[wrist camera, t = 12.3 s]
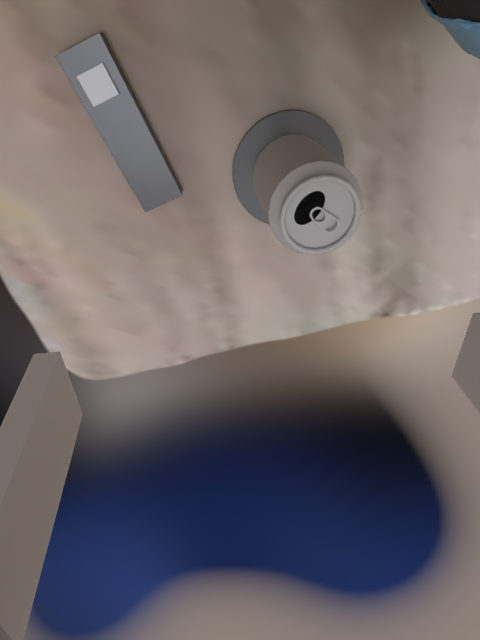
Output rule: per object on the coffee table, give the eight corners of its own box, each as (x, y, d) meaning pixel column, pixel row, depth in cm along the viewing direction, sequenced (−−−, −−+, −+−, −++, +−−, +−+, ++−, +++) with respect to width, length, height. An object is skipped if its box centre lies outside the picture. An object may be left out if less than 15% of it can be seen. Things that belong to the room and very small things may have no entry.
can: (283, 114, 38) (318, 145, 28) (342, 162, 41) (390, 205, 32) (236, 183, 41) (251, 232, 32) (293, 223, 44) (324, 279, 35)
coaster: (229, 113, 38) (230, 114, 38) (348, 106, 39) (349, 107, 39) (235, 227, 45) (235, 229, 44) (336, 219, 45) (338, 222, 45)
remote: (182, 188, 42) (182, 196, 40) (146, 204, 43) (145, 213, 41) (103, 32, 34) (98, 32, 32) (61, 55, 35) (53, 56, 33)
